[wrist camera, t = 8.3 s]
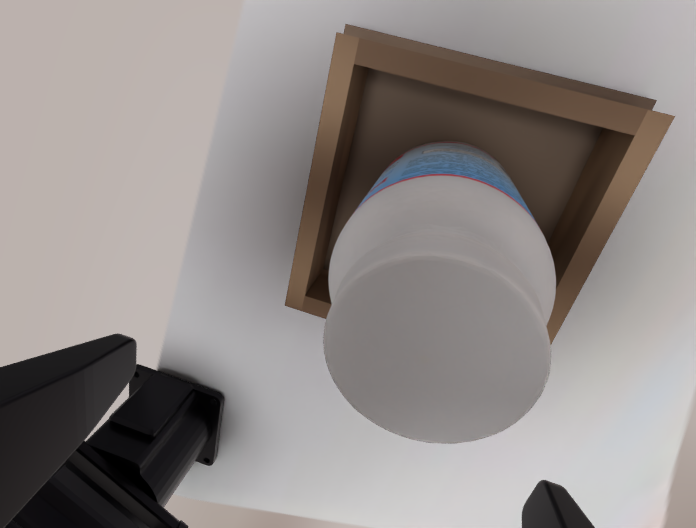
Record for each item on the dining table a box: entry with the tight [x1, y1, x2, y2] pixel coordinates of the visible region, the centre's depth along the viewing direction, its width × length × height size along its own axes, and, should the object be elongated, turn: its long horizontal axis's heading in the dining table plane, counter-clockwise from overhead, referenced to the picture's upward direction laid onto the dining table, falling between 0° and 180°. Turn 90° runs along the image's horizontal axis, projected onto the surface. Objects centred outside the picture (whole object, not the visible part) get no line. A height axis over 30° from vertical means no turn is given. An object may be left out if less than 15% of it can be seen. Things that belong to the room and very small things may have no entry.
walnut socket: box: [285, 24, 675, 345], centre depth 18 cm, size 12×12×4 cm
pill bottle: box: [323, 141, 556, 443], centre depth 14 cm, size 6×6×11 cm
